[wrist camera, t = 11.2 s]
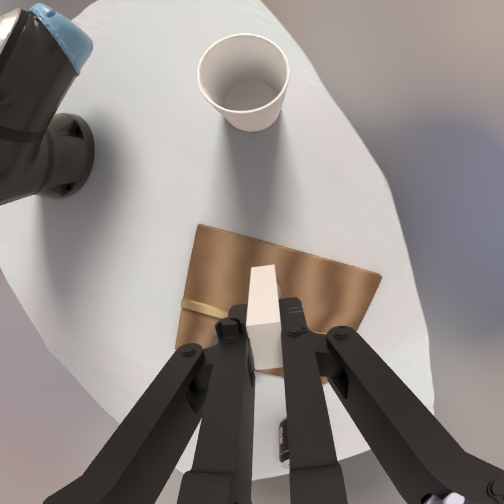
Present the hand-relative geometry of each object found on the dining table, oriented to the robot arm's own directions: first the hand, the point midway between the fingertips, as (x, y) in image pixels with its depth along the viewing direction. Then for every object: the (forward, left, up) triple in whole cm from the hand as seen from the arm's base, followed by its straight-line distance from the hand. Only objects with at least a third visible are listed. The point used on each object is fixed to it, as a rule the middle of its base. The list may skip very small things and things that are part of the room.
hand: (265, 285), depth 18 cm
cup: (-6, +15, -24) cm, 29 cm away
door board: (+6, -16, -24) cm, 29 cm away
